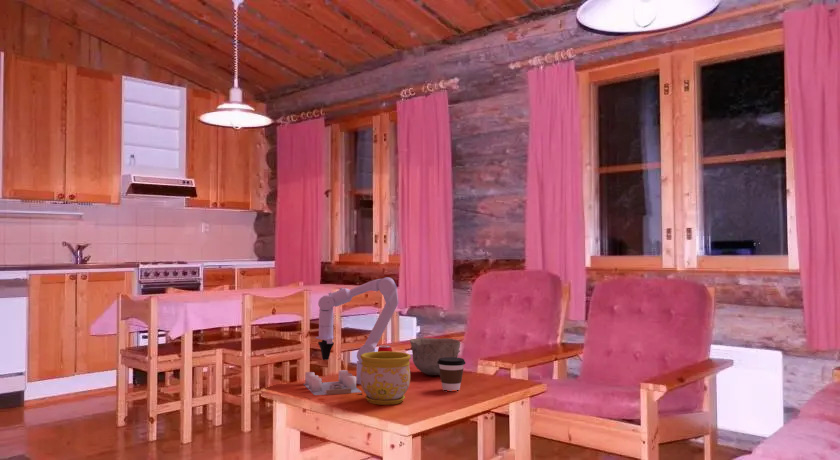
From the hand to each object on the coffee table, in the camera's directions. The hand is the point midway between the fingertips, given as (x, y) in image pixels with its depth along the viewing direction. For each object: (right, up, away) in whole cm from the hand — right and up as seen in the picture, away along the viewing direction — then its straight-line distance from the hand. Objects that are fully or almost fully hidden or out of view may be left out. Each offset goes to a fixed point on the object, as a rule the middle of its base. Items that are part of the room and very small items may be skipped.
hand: (325, 359), depth 265 cm
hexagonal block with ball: (+7, -8, -18) cm, 21 cm away
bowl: (+44, -12, +24) cm, 51 cm away
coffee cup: (+50, -10, -8) cm, 52 cm away
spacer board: (+4, -10, -11) cm, 15 cm away
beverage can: (+22, -11, +25) cm, 35 cm away
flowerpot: (+25, -10, -28) cm, 39 cm away
